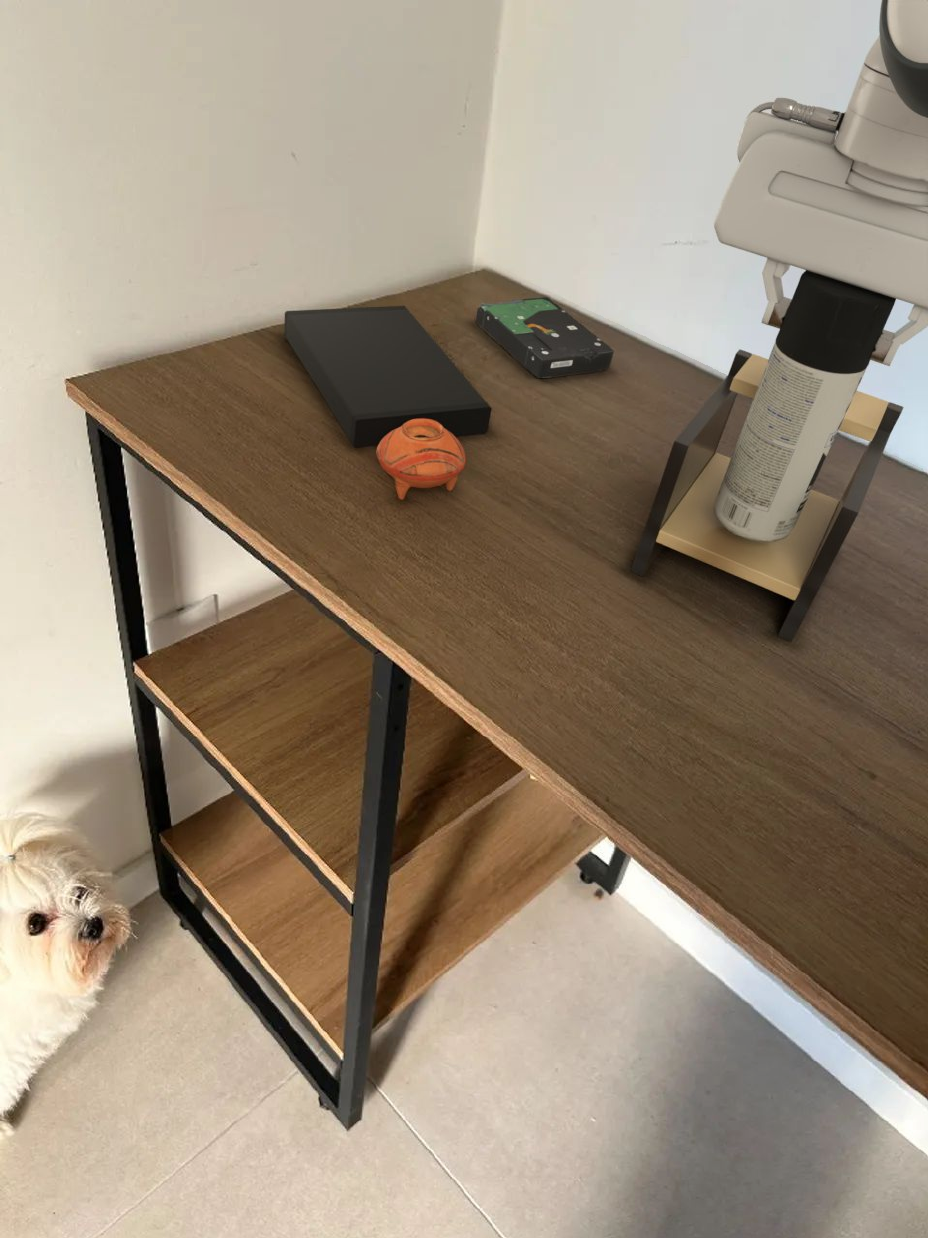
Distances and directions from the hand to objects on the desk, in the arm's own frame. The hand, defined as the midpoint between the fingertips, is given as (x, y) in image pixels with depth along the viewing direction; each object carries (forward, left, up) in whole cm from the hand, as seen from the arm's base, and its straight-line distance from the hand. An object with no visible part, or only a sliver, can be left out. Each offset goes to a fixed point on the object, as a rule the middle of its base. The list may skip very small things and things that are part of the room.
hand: (826, 342), depth 66 cm
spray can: (0, 0, -16) cm, 16 cm away
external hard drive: (+41, -9, -22) cm, 48 cm away
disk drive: (+32, -30, -22) cm, 49 cm away
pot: (+28, +5, -22) cm, 36 cm away
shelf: (0, -4, -22) cm, 22 cm away
